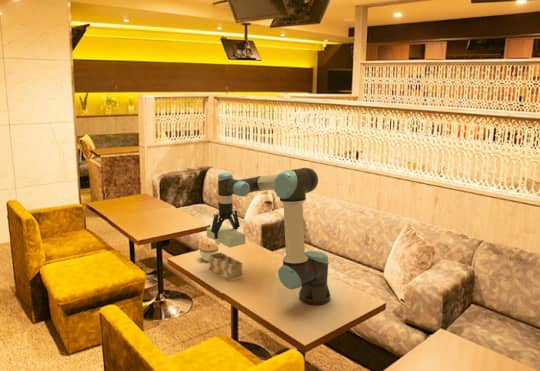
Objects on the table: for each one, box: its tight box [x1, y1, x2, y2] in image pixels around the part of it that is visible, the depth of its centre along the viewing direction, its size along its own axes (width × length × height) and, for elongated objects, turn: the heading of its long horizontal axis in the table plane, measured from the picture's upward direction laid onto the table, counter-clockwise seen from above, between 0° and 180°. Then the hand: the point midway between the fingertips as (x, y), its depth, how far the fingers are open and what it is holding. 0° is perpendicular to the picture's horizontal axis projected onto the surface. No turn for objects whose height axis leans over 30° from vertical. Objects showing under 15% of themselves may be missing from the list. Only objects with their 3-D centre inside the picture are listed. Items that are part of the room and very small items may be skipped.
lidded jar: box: [199, 243, 219, 263], centre depth 269 cm, size 11×11×9 cm
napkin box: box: [208, 252, 243, 282], centre depth 251 cm, size 20×8×8 cm, turn 40°
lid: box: [206, 224, 246, 248], centre depth 247 cm, size 22×10×5 cm, turn 40°
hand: (225, 242), depth 248 cm, fingers closed on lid, 10 cm apart
